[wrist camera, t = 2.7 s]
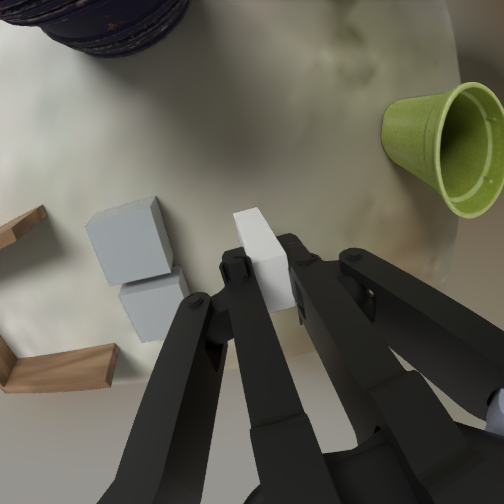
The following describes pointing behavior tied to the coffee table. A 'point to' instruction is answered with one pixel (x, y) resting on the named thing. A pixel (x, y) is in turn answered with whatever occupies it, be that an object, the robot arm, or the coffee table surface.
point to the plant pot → (451, 144)
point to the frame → (53, 365)
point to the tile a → (131, 241)
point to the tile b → (154, 303)
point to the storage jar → (99, 22)
